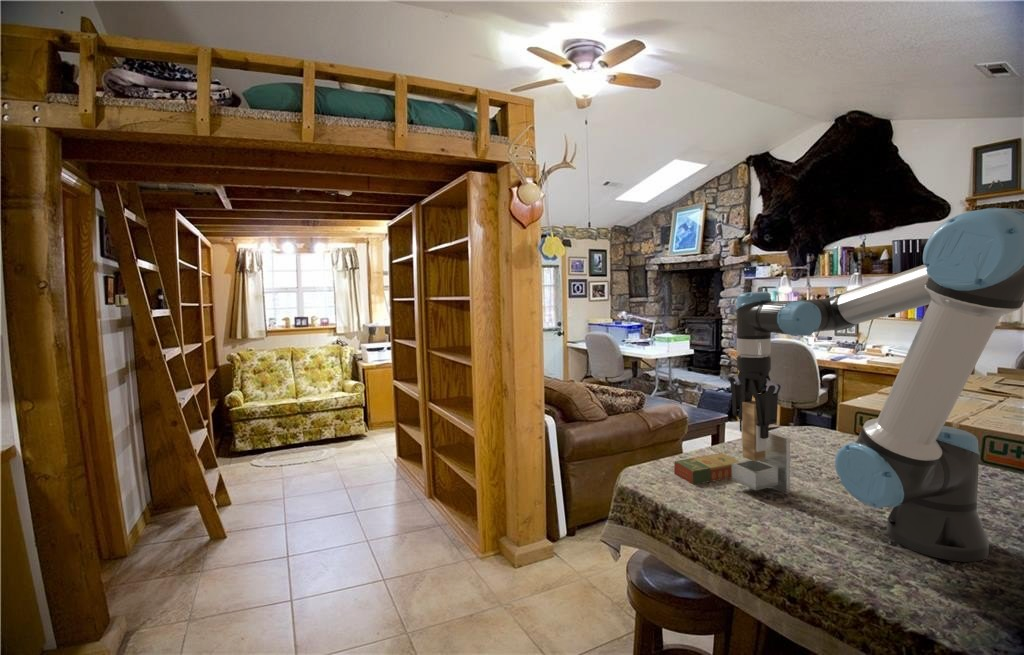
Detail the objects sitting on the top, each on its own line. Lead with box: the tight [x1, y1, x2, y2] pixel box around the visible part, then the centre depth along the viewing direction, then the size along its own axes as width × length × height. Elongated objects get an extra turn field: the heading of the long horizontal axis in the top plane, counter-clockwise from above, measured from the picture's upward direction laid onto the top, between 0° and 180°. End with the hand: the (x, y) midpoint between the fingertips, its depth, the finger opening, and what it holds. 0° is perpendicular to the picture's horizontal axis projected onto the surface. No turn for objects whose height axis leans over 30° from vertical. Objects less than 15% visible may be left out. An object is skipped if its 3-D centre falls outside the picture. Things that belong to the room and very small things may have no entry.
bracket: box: [731, 431, 791, 495], centre depth 123 cm, size 10×10×14 cm
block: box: [742, 400, 765, 461], centre depth 122 cm, size 4×4×14 cm
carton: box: [673, 452, 741, 485], centre depth 134 cm, size 8×16×4 cm, turn 107°
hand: (753, 447), depth 122 cm, fingers closed on block, 4 cm apart
